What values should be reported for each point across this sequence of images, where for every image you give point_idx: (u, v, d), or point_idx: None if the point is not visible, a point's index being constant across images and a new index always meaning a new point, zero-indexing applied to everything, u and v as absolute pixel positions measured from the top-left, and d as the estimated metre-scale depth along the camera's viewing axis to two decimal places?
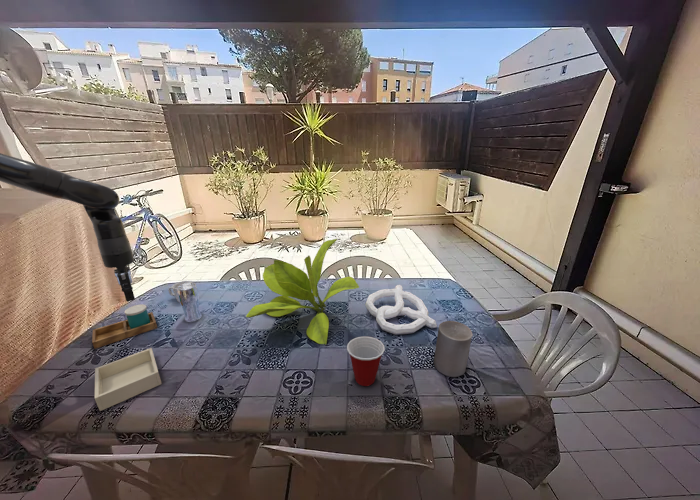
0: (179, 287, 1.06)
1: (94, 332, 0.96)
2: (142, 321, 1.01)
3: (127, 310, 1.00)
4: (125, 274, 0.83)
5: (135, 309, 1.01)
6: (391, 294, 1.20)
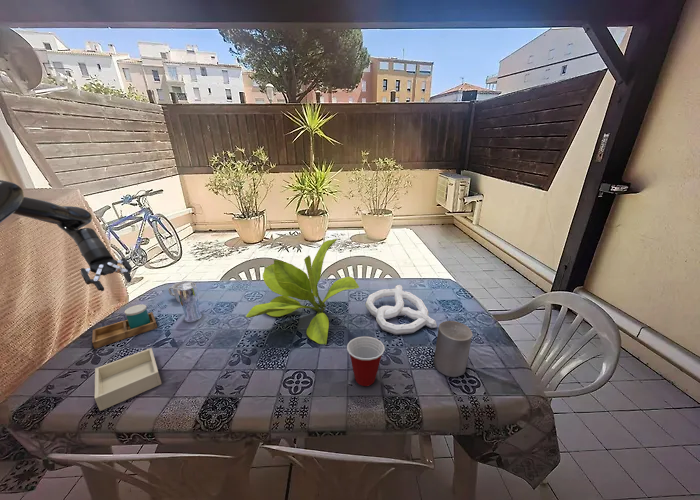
0: (179, 287, 1.06)
1: (94, 332, 0.96)
2: (142, 321, 1.01)
3: (127, 310, 1.00)
4: None
5: (135, 309, 1.01)
6: (391, 294, 1.20)
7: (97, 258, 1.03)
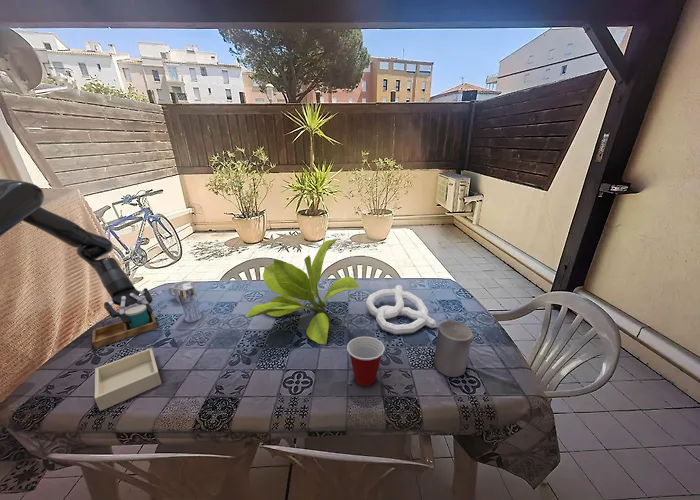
0: (179, 287, 1.06)
1: (94, 332, 0.96)
2: (142, 321, 1.01)
3: (127, 310, 1.00)
4: None
5: (135, 309, 1.01)
6: (391, 294, 1.20)
7: (119, 290, 1.00)
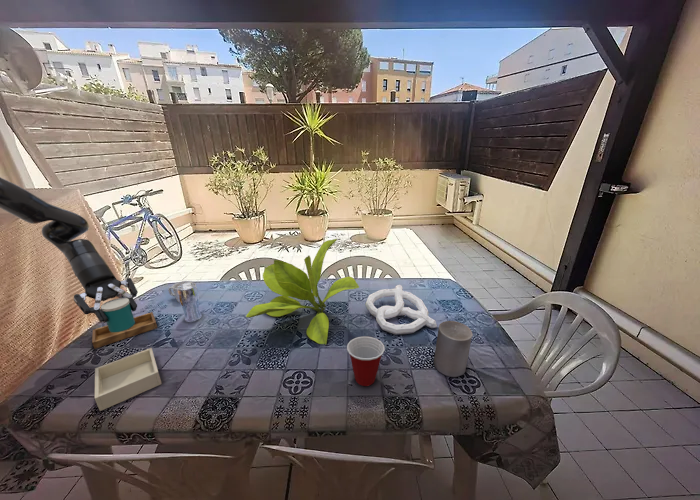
0: (179, 287, 1.06)
1: (94, 332, 0.96)
2: (123, 319, 0.80)
3: (104, 305, 0.79)
4: None
5: (115, 304, 0.80)
6: (391, 294, 1.20)
7: (95, 279, 0.79)
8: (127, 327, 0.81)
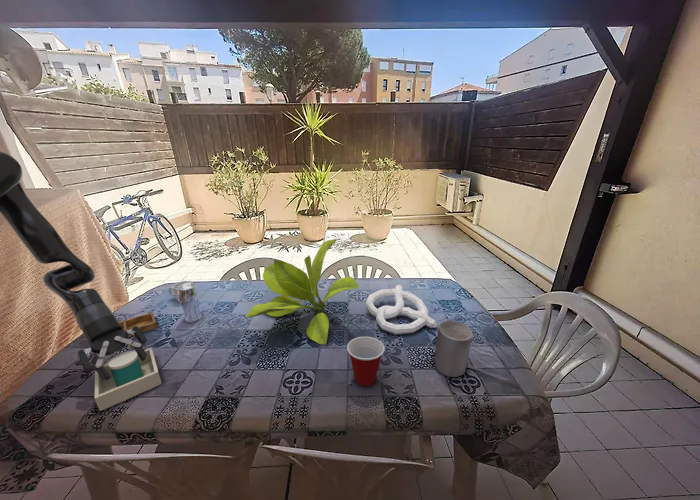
0: (179, 287, 1.06)
1: None
2: (132, 375, 0.77)
3: (112, 361, 0.75)
4: None
5: (123, 359, 0.76)
6: (391, 294, 1.20)
7: (100, 334, 0.75)
8: None
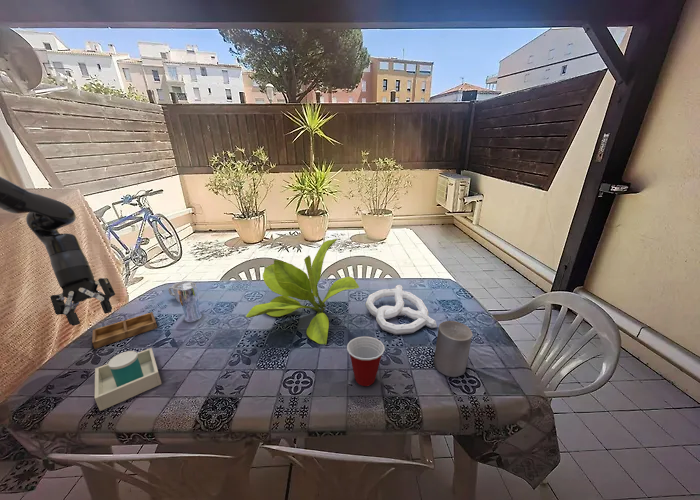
0: (179, 287, 1.06)
1: (94, 332, 0.96)
2: (132, 375, 0.77)
3: (112, 361, 0.75)
4: (106, 279, 0.83)
5: (123, 359, 0.76)
6: (391, 294, 1.20)
7: (63, 285, 0.77)
8: None
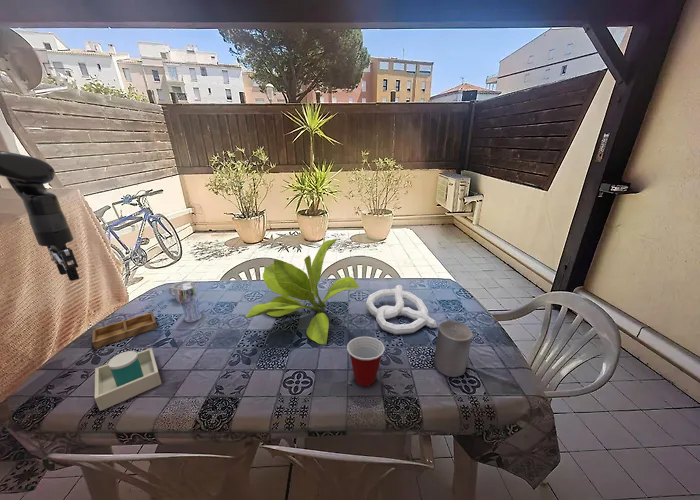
0: (179, 287, 1.06)
1: (94, 332, 0.96)
2: (132, 375, 0.77)
3: (112, 361, 0.75)
4: (69, 250, 0.81)
5: (123, 359, 0.76)
6: (391, 294, 1.20)
7: None
8: None
